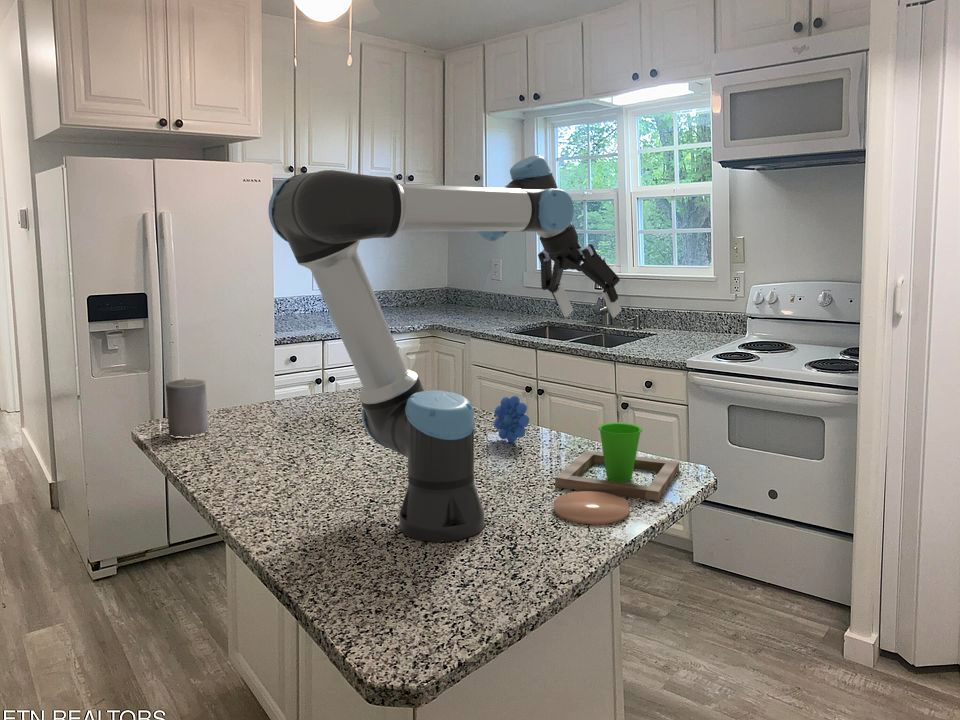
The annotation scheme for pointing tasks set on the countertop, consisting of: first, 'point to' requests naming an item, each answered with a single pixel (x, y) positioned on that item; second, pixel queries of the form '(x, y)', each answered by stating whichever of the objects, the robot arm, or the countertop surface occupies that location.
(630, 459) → the cup
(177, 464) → the countertop surface
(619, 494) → the frame
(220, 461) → the countertop surface
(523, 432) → the grapes
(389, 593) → the countertop surface
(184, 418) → the pillar candle
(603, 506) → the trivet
